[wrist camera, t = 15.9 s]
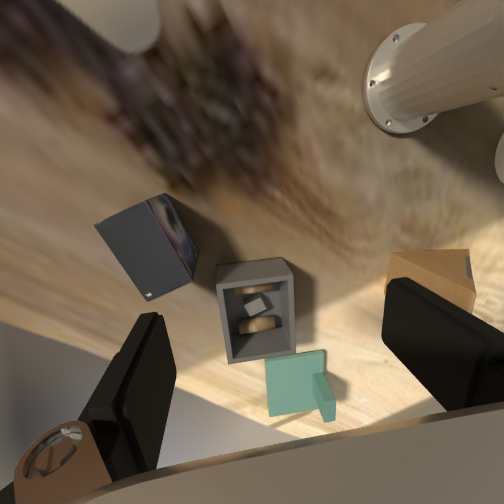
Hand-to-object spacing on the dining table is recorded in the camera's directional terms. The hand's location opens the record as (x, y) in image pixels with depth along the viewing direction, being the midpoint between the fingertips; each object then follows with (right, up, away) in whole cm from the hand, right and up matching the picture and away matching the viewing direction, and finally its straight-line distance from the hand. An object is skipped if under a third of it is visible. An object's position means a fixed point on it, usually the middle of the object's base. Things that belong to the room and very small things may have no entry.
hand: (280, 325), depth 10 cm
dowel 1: (-1, -2, +30) cm, 30 cm away
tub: (-1, -5, +32) cm, 32 cm away
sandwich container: (+31, -1, +35) cm, 46 cm away
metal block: (-1, -5, +31) cm, 32 cm away
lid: (+7, -23, +38) cm, 45 cm away
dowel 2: (-1, -8, +32) cm, 33 cm away
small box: (-14, +6, +27) cm, 31 cm away
